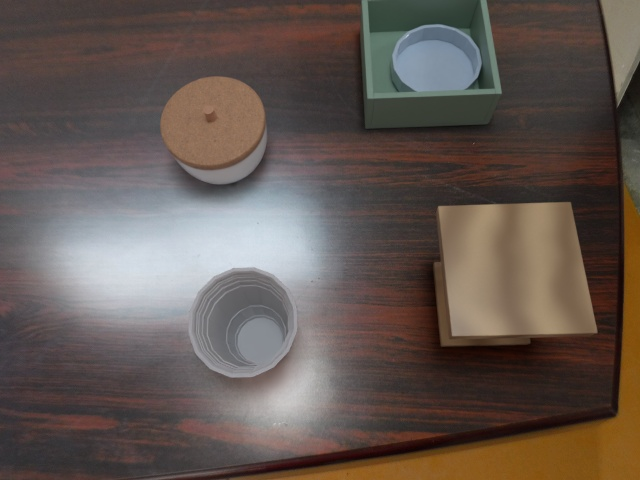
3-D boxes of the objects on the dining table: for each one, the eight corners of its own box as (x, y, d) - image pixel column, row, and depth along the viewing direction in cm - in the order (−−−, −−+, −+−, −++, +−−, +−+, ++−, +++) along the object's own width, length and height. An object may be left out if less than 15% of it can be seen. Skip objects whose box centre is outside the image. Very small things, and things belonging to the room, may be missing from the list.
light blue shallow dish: (469, 37, 77) (474, 21, 74) (482, 106, 72) (488, 92, 70) (387, 42, 77) (388, 27, 74) (395, 111, 73) (397, 98, 70)
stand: (525, 250, 66) (570, 201, 53) (543, 357, 61) (598, 333, 48) (419, 253, 66) (437, 205, 53) (428, 360, 61) (451, 336, 48)
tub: (473, 27, 78) (484, -10, 72) (488, 124, 72) (502, 93, 66) (359, 32, 79) (361, -4, 73) (365, 129, 73) (367, 98, 67)
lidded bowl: (177, 201, 70) (148, 159, 60) (184, 119, 75) (159, 66, 64) (273, 198, 70) (261, 155, 59) (274, 116, 74) (263, 62, 64)
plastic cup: (203, 380, 62) (172, 366, 50) (226, 291, 65) (202, 258, 54) (296, 397, 60) (285, 386, 49) (313, 305, 64) (307, 275, 53)
